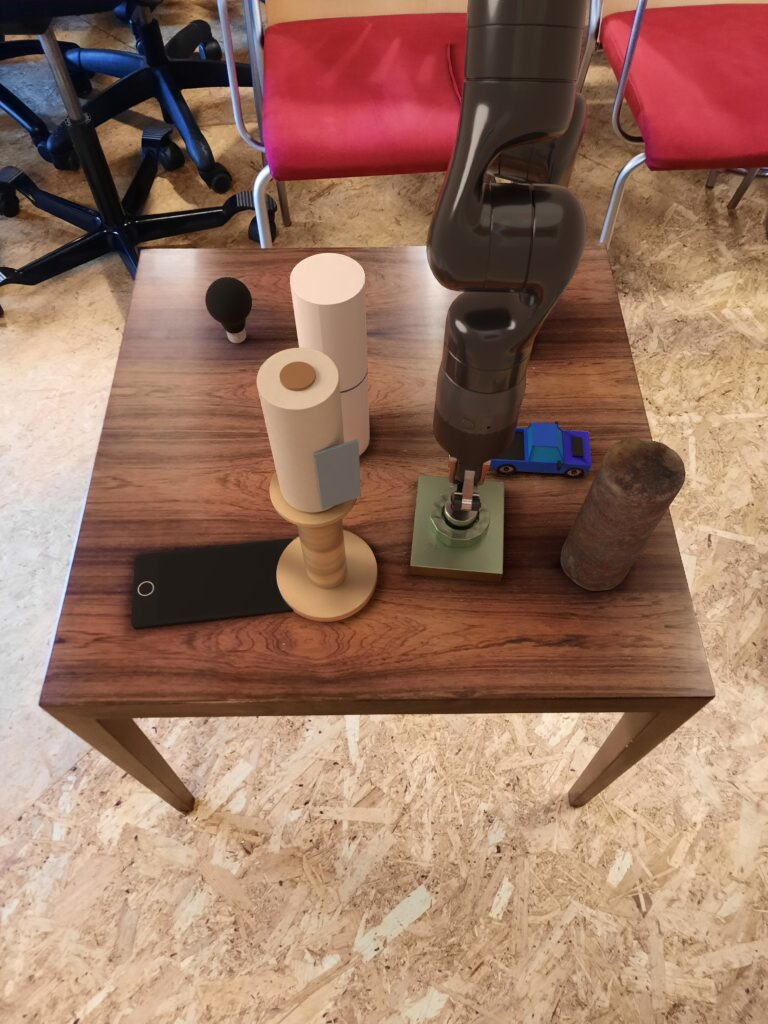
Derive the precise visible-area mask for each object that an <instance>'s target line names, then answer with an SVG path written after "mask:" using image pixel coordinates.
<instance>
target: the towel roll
mask: <svg viewBox="0 0 768 1024" xmlns="http://www.w3.org/2000/svg"><path fill="white" fill-rule="evenodd" d="M256 387H257V392H258V396H259V400H260V405H261V410H262V414H263V419H264V422H265V427H266V432H267V437H268V441H269V445H270V446H269V447H270V450H271V455H272V457H273V458H272V459H273V464H274V468H275V471H276V473H277V477H278V481H279V486H280V490H281V494H282V496H283V498H284V499H285V501H286V502H287V503H288V504H289V505H291V506H292V507H294V508H295V509H298V510H300V511H304V512H320V511H324V510H327V509H329V508H331V507H333V506H335V505H338V504H341V503H344V502H346V501H349V500H352V499H355V498H357V499H358V498H361V497H362V485H361V483H362V482H361V466H360V456H359V444H358V439H355V440H352V441H349V442H346V443H344V433H343V420H342V408H341V395H340V383H339V373H338V369H337V367H336V365H335V363H334V362H333V361H332V360H331V359H330V358H329V357H328V356H327V355H325V354H324V353H322V352H320V351H317V350H314V349H310V348H299V347H292V348H286V349H283V350H280V351H278V352H276V353H274V354H273V355H271V356H270V357H268V358H267V359H266V360H265V361H264V362H263V363H262V365H261V366H260V368H259V370H258V372H257V375H256Z"/></svg>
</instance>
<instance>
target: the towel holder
mask: <svg viewBox="0 0 768 1024" xmlns="http://www.w3.org/2000/svg"><path fill="white" fill-rule="evenodd" d="M268 489H269V497H270V501H271V504H272V506H273V508H274V510H275V511H276V513H277V514H278V515H279V516H280V517H282V518H283V519H284V520H285V521H287V522H288V523H290V524H293V525H295V526H296V527H297V532H298V536H297V537H296V538H294V539H295V540H293V541H292V542H291V543H290V544H289V545H288V546H287V548H286V549H285V550H284V552H283V553H282V555H281V557H280V559H279V562H278V566H277V584H278V587H279V590H280V593H281V595H282V597H283V599H284V600H285V602H286V603H287V604H288V605H289V606H290V607H291V608H292V609H293V610H294V611H293V612H294V613H295V614H296V615H298V616H300V617H302V618H304V619H306V620H307V619H308V620H310V621H314V622H319V623H331V622H337V621H342V620H345V619H348V618H350V617H352V616H354V615H355V614H356V613H359V612H360V611H361V610H362V609H363V608H364V607H365V606H366V605H367V604H368V603H369V601H370V600H371V599H372V597H373V595H374V593H375V590H376V588H377V583H378V564H377V563H378V562H377V560H376V557H375V554H374V552H373V550H372V549H371V546H369V545H368V543H367V542H366V541H365V540H364V539H363V538H362V537H360V536H358V535H357V534H355V533H353V532H351V531H349V530H346V529H344V524H343V518H345V516H347V515H348V514H349V513H350V512H351V511H352V509H353V508H354V506H355V505H356V503H357V500H358V498H355V499H352V500H349V501H346V502H344V503H341V504H338V505H335V506H333V507H331V508H329V509H327V510H324V511H320V512H304V511H300V510H298V509H295V508H294V507H292V506H291V505H289V504H288V503H287V502H286V501H285V499H284V498H283V496H282V494H281V490H280V486H279V481H278V477H277V473H276V470H275V471H274V472H273V474H272V476H271V479H270V483H269V488H268Z"/></svg>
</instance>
